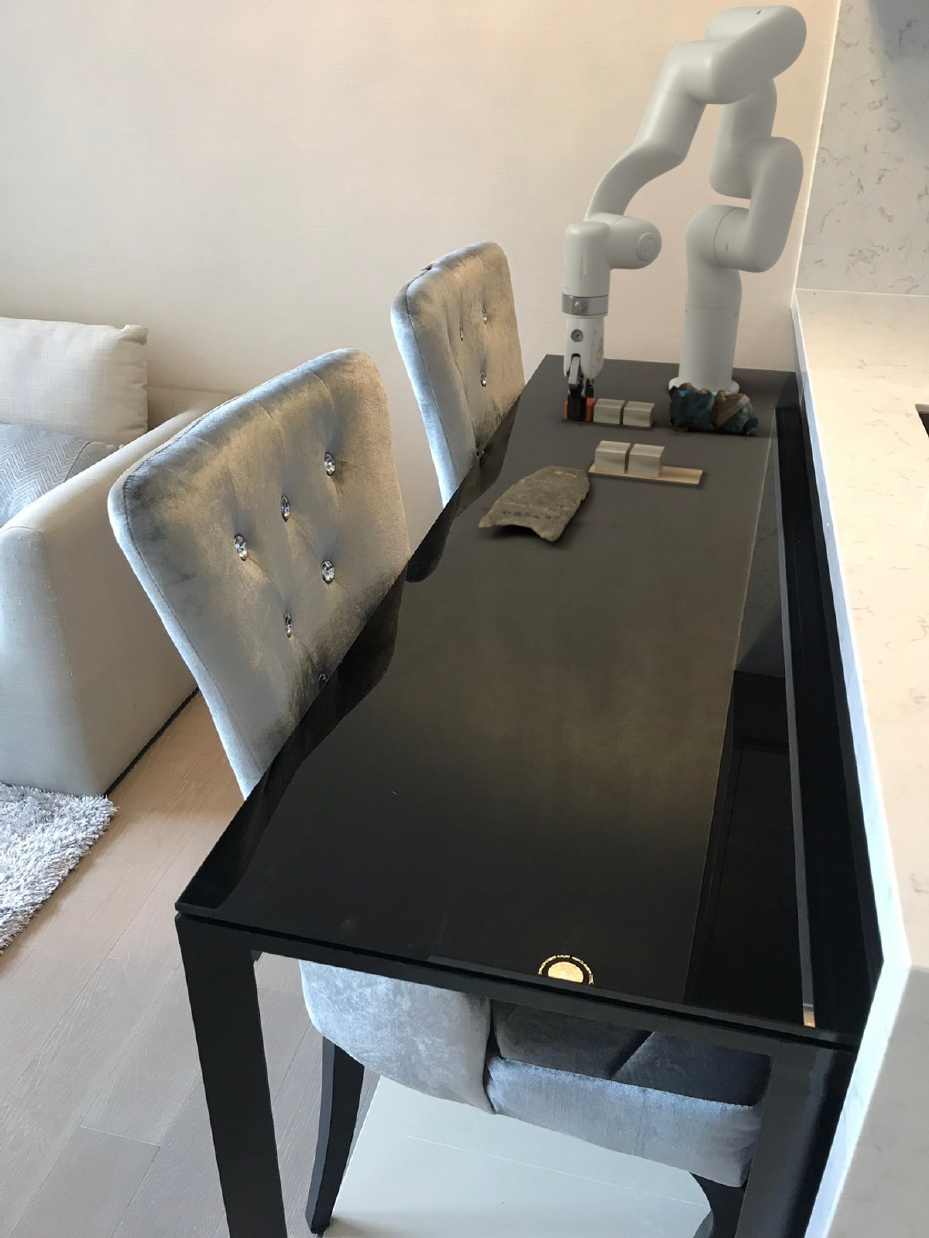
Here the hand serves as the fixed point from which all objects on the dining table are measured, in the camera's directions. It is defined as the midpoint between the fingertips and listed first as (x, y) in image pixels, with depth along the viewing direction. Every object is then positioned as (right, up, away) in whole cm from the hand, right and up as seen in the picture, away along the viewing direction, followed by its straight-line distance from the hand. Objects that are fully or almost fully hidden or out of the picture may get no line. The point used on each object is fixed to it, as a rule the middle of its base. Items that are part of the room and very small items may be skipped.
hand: (579, 413), depth 169 cm
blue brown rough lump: (+21, -4, -6) cm, 22 cm away
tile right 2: (+7, -13, -22) cm, 27 cm away
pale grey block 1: (+2, -12, -21) cm, 24 cm away
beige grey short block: (+5, -2, -1) cm, 5 cm away
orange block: (0, -1, 0) cm, 1 cm away
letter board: (+7, -14, -22) cm, 27 cm away
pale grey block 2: (+9, -2, -2) cm, 10 cm away
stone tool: (-9, -20, -32) cm, 39 cm away
